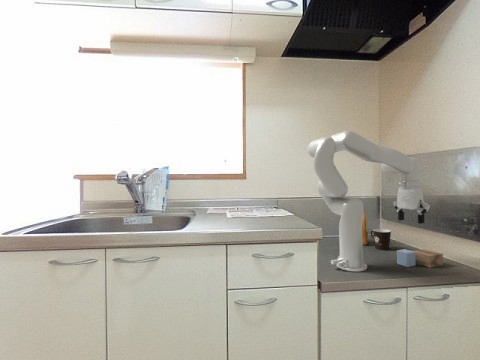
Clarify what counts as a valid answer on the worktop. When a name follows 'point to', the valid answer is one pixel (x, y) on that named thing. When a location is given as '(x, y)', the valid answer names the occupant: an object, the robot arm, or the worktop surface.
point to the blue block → (406, 258)
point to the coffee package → (364, 231)
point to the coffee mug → (381, 238)
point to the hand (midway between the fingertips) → (410, 221)
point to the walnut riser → (428, 258)
